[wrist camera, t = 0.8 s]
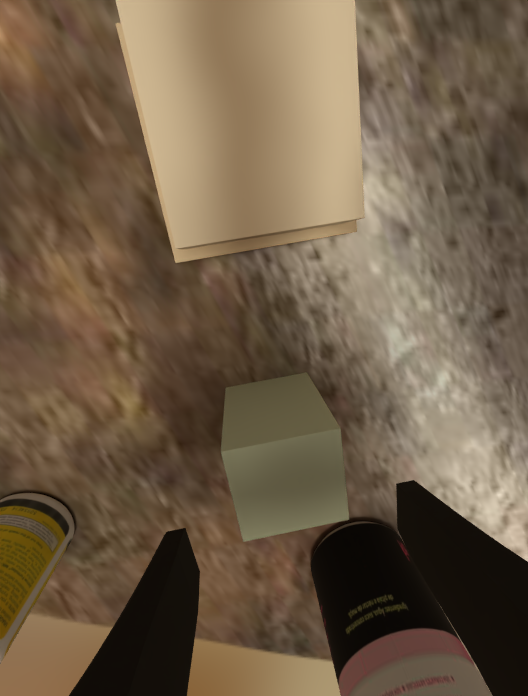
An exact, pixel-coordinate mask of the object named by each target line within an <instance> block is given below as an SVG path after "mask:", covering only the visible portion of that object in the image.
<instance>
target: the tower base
mask: <svg viewBox="0 0 528 696" xmlns="http://www.w3.org/2000/svg"><path fill="white" fill-rule="evenodd" d="M116 27H117V31H118V35H119V39H120V43H121V47H122V51H123V55H124V59H125V63H126V67H127V71H128V75H129V79H130V83H131V87H132V91H133V95H134V99H135V103H136V107H137V111H138V115H139V119H140V123H141V127H142V131H143V135H144V139H145V143H146V147H147V151H148V155H149V159H150V163H151V167H152V171H153V175H154V179H155V182H156V186H157V190H158V194H159V198H160V202H161V206H162V210H163V214H164V218H165V222H166V226H167V230H168V234H169V238H170V242H171V246H172V250H173V254H174V258H175V262H176V263H179V262H185V261H191V260H197V259H202V258H208V257H214V256H220V255H225V254H231V253H237V252H243V251H248V250H254V249H260V248H266V247H272V246H277V245H283V244H289V243H295V242H300V241H306V240H312V239H318V238H323V237H329V236H335V235H341V234H347V233H352V232H357V227H356V220H354V221H351V222H347V223H343V224H336V225H330V226H324V227H318V228H312V229H306V230H300V231H294V232H288V233H282V234H276V235H270V236H264V237H258V238H252V239H246V240H240V241H234V242H228V243H222V244H216V245H210V246H203V247H197V248H191V249H185V250H184V249H175V245H174V240H173V236H172V232H171V228H170V224H169V220H168V215H167V211H166V207H165V203H164V199H163V195H162V191H161V186H160V182H159V178H158V174H157V170H156V166H155V161H154V157H153V153H152V149H151V145H150V141H149V137H148V132H147V128H146V124H145V120H144V116H143V112H142V107H141V103H140V99H139V95H138V91H137V87H136V83H135V78H134V74H133V70H132V66H131V62H130V58H129V54H128V49H127V45H126V41H125V37H124V33H123V29H122V24H121V23H116Z"/></svg>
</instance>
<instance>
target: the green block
mask: <svg viewBox="0 0 528 696" xmlns="http://www.w3.org/2000/svg"><path fill="white" fill-rule="evenodd" d="M221 455H222V459H223V463H224V467H225V471H226V475H227V479H228V483H229V486H230V490H231V494H232V498H233V502H234V506H235V510H236V514H237V518H238V522H239V526H240V530H241V534H242V538H243V542H244V541H249V540H254V539H259V538H264V537H268V536H273V535H278V534H283V533H287V532H292V531H297V530H302V529H307V528H311V527H316V526H321V525H326V524H330V523H335V522H340V521H345V520H349V512H348V501H347V491H346V480H345V470H344V459H343V448H342V438H341V428H340V426H339V425H338V423H337V421H336V420H335V418H334V417H333V415H332V413H331V412H330V410H329V408H328V407H327V405H326V403H325V402H324V400H323V398H322V397H321V395H320V393H319V392H318V390H317V388H316V387H315V385H314V383H313V382H312V380H311V378H310V377H309V375H308V373H307V372H306V373H301V374H295V375H290V376H285V377H279V378H274V379H269V380H264V381H258V382H253V383H248V384H242V385H237V386H232V387H227V388H226V390H225V403H224V416H223V429H222V443H221Z"/></svg>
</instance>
